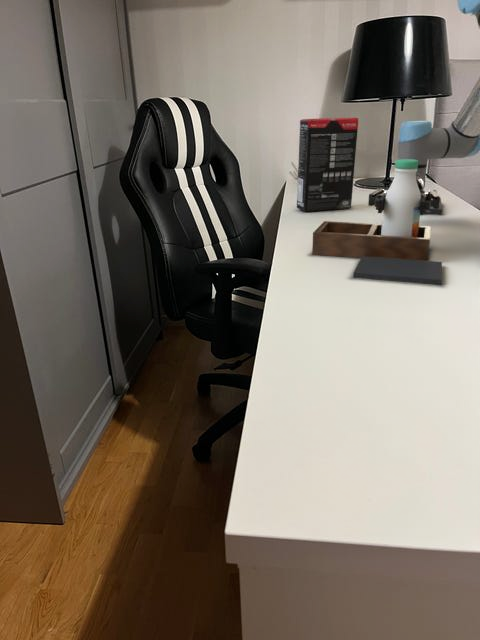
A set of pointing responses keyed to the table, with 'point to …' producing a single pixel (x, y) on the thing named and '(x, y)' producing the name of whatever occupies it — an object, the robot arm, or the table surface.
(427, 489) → the table surface
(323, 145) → the graphics card box
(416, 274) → the mat
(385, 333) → the table surface
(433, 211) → the smart home device
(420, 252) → the wooden compartment tray
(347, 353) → the table surface
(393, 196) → the milk bottle
